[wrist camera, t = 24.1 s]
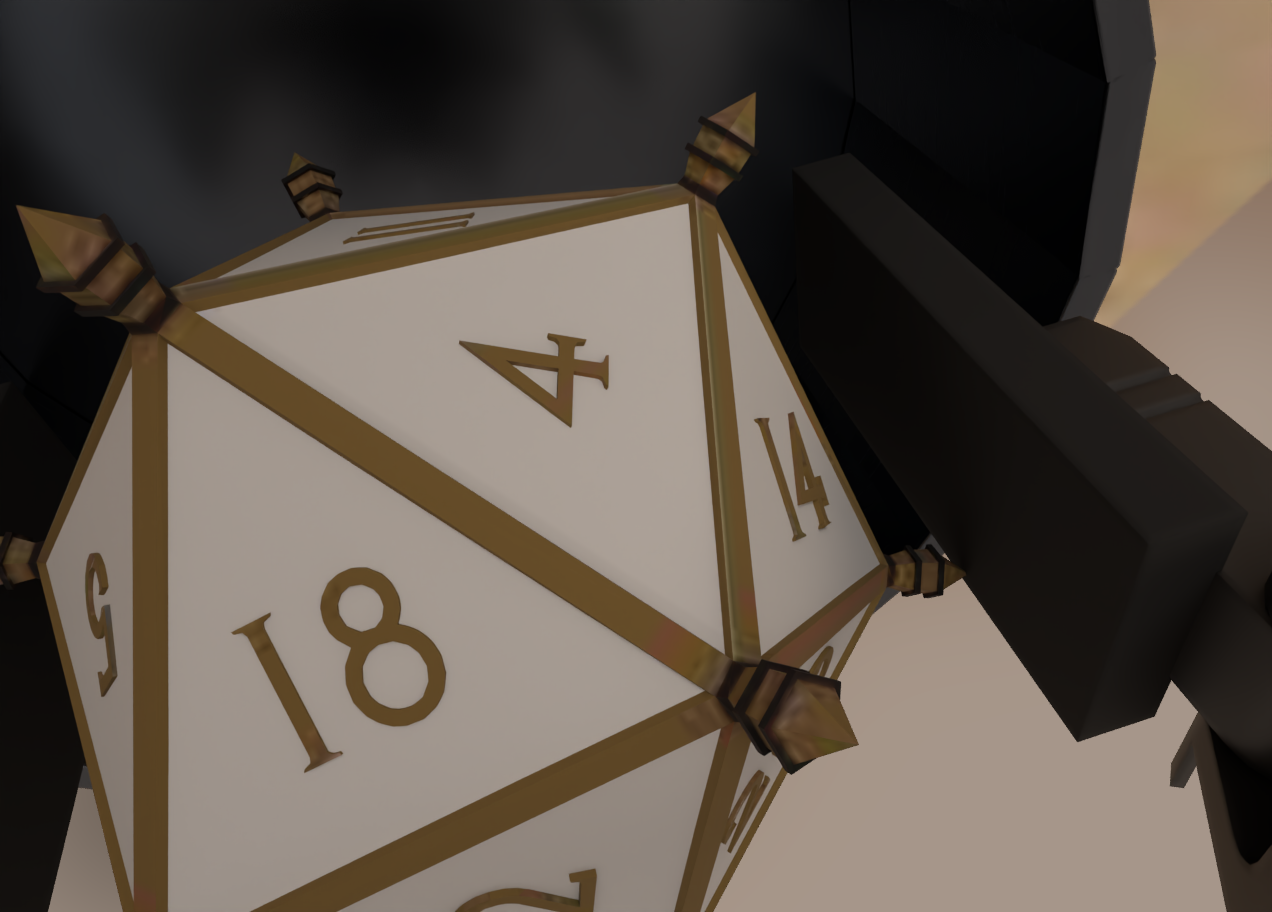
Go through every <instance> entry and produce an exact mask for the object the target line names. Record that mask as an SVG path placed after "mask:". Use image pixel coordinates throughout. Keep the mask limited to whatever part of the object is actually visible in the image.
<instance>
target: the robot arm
mask: <svg viewBox="0 0 1272 912" xmlns="http://www.w3.org/2000/svg"><path fill="white" fill-rule="evenodd" d="M792 179H793V203H794V227H795V250H796V274H797V298H798V322H799V346H800V347H801V349H802V350H803V351H804V353H805V354H806V356H807V357H808V358H809V360H810V361H811V363H812V364H813V366H814V367H815V368H816V370H817V371H818V373H819V374H820V376H821V377H822V378H823V380H824V381H825V383H826V384H827V386H828V387H829V388H830V390H831V391H832V393H833V394H834V396H835V397H836V398H837V400H838V401H839V403H840V404H841V406H842V407H843V408H844V410H845V411H846V413H847V414H848V416H849V417H850V418H851V420H852V421H853V423H854V424H855V426H856V427H857V428H858V430H859V431H860V433H861V434H862V436H863V437H864V438H865V440H866V441H867V443H868V444H869V446H870V447H871V448H872V450H873V451H874V453H875V454H876V456H877V457H878V458H879V460H880V461H881V463H882V464H883V466H884V467H885V468H886V470H887V471H888V473H889V474H890V476H891V477H892V478H893V480H894V481H895V483H896V484H897V486H898V487H899V488H900V490H901V491H902V493H903V494H904V495H905V497H906V498H907V500H908V501H909V503H910V504H911V505H912V507H913V508H914V510H915V511H916V513H917V514H918V515H919V517H920V518H921V520H922V521H923V523H924V524H925V525H926V527H927V528H928V530H929V531H930V533H931V534H932V535H933V537H934V538H935V540H936V541H937V543H938V544H939V545H940V547H941V548H942V550H943V551H944V553H945V554H946V555H947V557H948V558H949V560H950V561H951V562H952V563H954V564H955V565H957V566H958V567H960V568H961V569H963V570H964V571H965V572H966V576H964V577H963V580H964V581H965V582H966V584H967V585H968V587H969V588H970V590H971V591H972V593H973V594H974V595H975V597H976V598H977V600H978V601H979V602H980V604H981V605H982V607H983V608H984V610H985V611H986V613H987V614H988V615H989V616H990V618H991V620H992V621H993V623H994V624H995V625H996V627H997V628H998V629H999V631H1000V632H1001V634H1002V635H1003V637H1004V638H1005V639H1006V641H1007V642H1008V644H1009V645H1010V646H1011V648H1012V650H1013V651H1014V652H1015V654H1016V655H1017V657H1018V658H1019V659H1020V661H1021V662H1022V664H1023V665H1024V667H1025V668H1026V670H1027V671H1028V672H1029V674H1030V675H1031V676H1032V678H1033V680H1034V681H1035V682H1036V684H1037V685H1038V687H1039V688H1040V689H1041V691H1042V692H1043V694H1044V695H1045V697H1046V698H1047V700H1048V701H1049V702H1050V704H1051V705H1052V707H1053V708H1054V710H1055V711H1056V712H1057V714H1058V715H1059V717H1060V718H1061V719H1062V721H1063V722H1064V724H1065V725H1066V727H1067V728H1068V730H1069V731H1070V732H1071V734H1072V735H1073V737H1074V738H1075V740H1076V741H1077V742H1079V741H1082V740H1085V739H1088V738H1091V737H1094V736H1097V735H1100V734H1103V733H1106V732H1109V731H1112V730H1115V729H1118V728H1121V727H1125V726H1128V725H1130V724H1134V723H1137V722H1140V721H1143V720H1146V719H1148V718H1151V717H1154V716H1155V714H1156V712H1157V710H1158V708H1159V706H1160V703H1161V701H1162V699H1163V697H1164V694H1165V693H1166V690H1167V688H1168V686H1169V684H1170V682H1171V680H1172V681H1173V682H1174V684H1175V685H1176V686H1177V687H1178V688H1179V689H1180V691H1181V692H1182V693H1183V694H1184V696H1185V697H1186V698H1187V699H1188V700H1189V701H1190V703H1191V704H1192V705H1193V706H1194V707H1195V709H1196V710H1197V711H1198V713H1197V715H1196V717H1195V719H1194V721H1193V723H1192V725H1191V727H1190V729H1189V730H1188V732H1187V734H1186V737H1185V738H1184V740H1183V742H1182V744H1181V746H1180V748H1179V750H1178V752H1177V753H1176V755H1175V757H1174V759H1173V761H1172V763H1171V777H1170V778H1171V779H1170V786H1173V787H1180V788H1184V787H1185V785H1186V783H1187V781H1188V780H1189V778H1190V776H1191V774H1192V772H1193V771H1194V769H1195V767H1196V766H1197V771H1198V776H1199V780H1200V785H1201V790H1202V795H1203V799H1204V804H1205V809H1206V814H1207V819H1208V824H1209V829H1210V833H1211V838H1212V842H1213V848H1214V853H1215V857H1216V862H1217V867H1218V871H1219V877H1220V881H1221V886H1222V891H1223V896H1224V901H1225V905H1226V910H1227V912H1272V451H1271V450H1270V449H1268V448H1267V447H1266V446H1265V445H1263V444H1262V443H1261V442H1260V441H1259V440H1257V439H1256V438H1254V436H1252V435H1251V434H1250V433H1249V432H1247V431H1246V430H1245V429H1244V428H1243V427H1241V426H1240V425H1239V424H1238V423H1236V422H1235V421H1234V420H1233V419H1231V418H1230V417H1229V416H1228V415H1227V414H1225V413H1224V412H1223V411H1222V410H1220V409H1219V408H1218V407H1217V406H1216V405H1214V404H1213V403H1212V402H1211V401H1209V400H1208V401H1203V400H1202V399H1201V394H1200V392H1198V391H1197V390H1196V389H1194V388H1193V387H1192V386H1191V385H1190V384H1188V383H1187V382H1186V381H1184V379H1182V378H1181V377H1180V376H1178V375H1177V374H1175V375H1171V374H1170V372H1169V367H1168V366H1166V365H1165V364H1164V363H1163V362H1161V361H1160V360H1159V359H1157V358H1156V357H1155V356H1154V355H1153V354H1152V353H1150V352H1149V351H1148V350H1147V349H1145V348H1144V347H1143V346H1141V344H1139V343H1138V342H1137V341H1136V340H1134V339H1133V338H1132V337H1130V336H1128V335H1125V334H1123V333H1121V332H1118V331H1116V330H1113V329H1111V328H1109V327H1106V326H1104V325H1101V324H1099V323H1097V322H1094V321H1092V320H1089V319H1087V318H1085V317H1082V316H1077V317H1074V318H1070V319H1067V320H1064V321H1060V322H1057V323H1053V324H1050V325H1047V326H1043V327H1042V326H1041V325H1040V324H1039V323H1038V322H1037V321H1036V320H1035V319H1034V318H1032V317H1031V316H1030V315H1029V314H1028V313H1027V312H1026V311H1025V310H1024V309H1022V308H1021V307H1020V306H1019V305H1018V304H1017V303H1016V302H1015V301H1014V300H1012V299H1011V298H1010V297H1009V296H1008V295H1007V294H1006V293H1005V292H1004V291H1003V290H1001V289H1000V288H999V287H998V286H997V285H996V284H995V283H994V282H993V281H991V280H990V279H989V278H988V277H987V276H986V275H985V274H984V273H983V272H981V271H980V270H979V269H978V268H977V267H976V266H975V265H974V264H973V263H971V262H970V261H969V260H968V259H967V258H966V257H965V256H964V255H963V254H961V253H960V252H959V251H958V250H957V249H956V248H955V247H954V246H953V245H952V244H950V243H949V242H948V241H947V240H946V239H945V238H944V237H943V236H942V235H940V234H939V233H938V232H937V231H936V230H935V229H934V228H933V227H932V226H930V225H929V224H928V223H927V222H926V221H925V220H924V219H923V218H922V217H920V216H919V215H918V214H917V213H916V212H915V211H914V210H913V209H912V208H910V207H909V206H908V205H907V204H906V203H905V202H904V201H903V200H902V199H901V198H899V197H898V196H897V195H896V194H895V193H894V192H893V191H892V190H891V189H889V188H888V187H887V186H886V185H885V184H884V183H883V182H882V181H881V180H879V179H878V178H877V177H876V176H875V175H874V174H873V173H872V172H871V171H869V170H868V169H867V168H866V167H865V166H864V165H863V164H862V163H861V162H860V161H858V160H857V159H856V158H855V157H854V156H853V155H852V154H851V153H846V154H842V155H839V156H835V157H831V158H828V159H824V160H820V161H817V162H813V163H809V164H806V165H802V166H798V167H795V168H792ZM76 464H77V460H76V459H75V458H74V456H73V455H72V454H71V453H70V451H69V450H68V449H67V448H66V447H65V445H64V444H63V443H62V442H61V441H60V439H59V438H58V437H57V436H56V434H55V433H54V432H53V431H52V430H51V428H50V427H49V426H48V425H47V424H46V422H45V421H44V420H43V419H42V417H41V416H40V415H39V414H38V413H37V411H36V410H35V409H34V408H33V407H32V405H31V404H30V403H29V402H28V400H27V399H26V398H25V397H24V396H23V394H22V393H21V392H20V391H19V390H18V388H17V387H16V386H15V385H14V383H13V382H12V381H10V382H7V383H3V384H0V534H1V535H5V533H6V532H13V533H17V534H20V535H24V536H28V537H32V538H33V542H34V543H38V542H41V541H45V540H46V538H47V535H48V533H49V530H50V528H51V525H52V523H53V520H54V518H55V515H56V513H57V510H58V508H59V505H60V503H61V501H62V498H63V496H64V493H65V491H66V488H67V486H68V483H69V481H70V478H71V476H72V473H73V471H74V469H75V466H76ZM84 762H85V756H84V752H83V748H82V744H81V740H80V736H79V732H78V727H77V723H76V719H75V715H74V711H73V707H72V703H71V699H70V695H69V691H68V687H67V683H66V679H65V675H64V671H63V667H62V663H61V659H60V655H59V651H58V647H57V643H56V639H55V635H54V631H53V627H52V622H51V618H50V614H49V610H48V606H47V602H46V598H45V594H44V590H43V586H42V582H41V579H37V578H34V579H30V580H27V581H23V582H21V583H20V584H19V585H18V586H17V587H15V588H14V589H11V590H7V589H6V588H5V586H4V585H0V912H48V909H49V905H50V901H51V897H52V893H53V888H54V884H55V880H56V876H57V872H58V868H59V864H60V860H61V855H62V852H63V848H64V843H65V839H66V835H67V831H68V827H69V822H70V819H71V815H72V811H73V807H74V802H75V798H76V794H77V790H78V786H79V782H80V778H81V774H82V770H83V766H84Z"/></svg>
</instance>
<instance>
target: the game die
mask: <svg viewBox="0 0 1272 912" xmlns="http://www.w3.org/2000/svg"><path fill="white" fill-rule="evenodd" d="M755 101H756V92H755V93H753V94H751V95H749V96H748V97H746V98H744V99H742V100H740V101H738V102H737V103H735V104H733V105H731V106H729V107H727V108H726V109H724V110H722V111H720V112H718V113H716V114H715V115H713V116H711V117H709V118H705V117H703V116H700V118H699V120H698V122H699V123H700V124H702V125H703V126H702V128H701V130H700V132H699V134H698V136H697V138H696V140H695V142H694V144H693V145H692V144H690V143H687V145H686V147H685V149H686V150H687V151H689V152H690V153H689V158H688V162H687V167H686V171H685V175H684V176H683V177H682V179H681V180H680V181H679V182H678V183H676V184H665V185H653V186H641V187H629V188H617V189H606V190H594V191H582V192H570V193H558V194H546V195H535V196H523V197H511V198H499V199H487V200H476V201H464V202H452V203H440V204H428V205H416V206H405V207H393V208H381V209H369V210H357V211H346V212H340V210H339V200H340V198H341V196H342V194H343V193H342V190H341V189H338V188H335V185H334V183H333V179H334V178H335V176H336V174H335V172H334V171H332V170H329V169H326V168H323V167H320V166H317V165H315V164H314V163H312V162H310V161H309V160H307V159H305V158H303V157H302V156H300V155H298V154H297V153H295V152H294V155H293V158H292V162H291V165H290V168H289V172H288V175H287V176H286V177H285V178H283V179H281V181H282V183H283V185H284V187H285V188H286V190H287V192H288V194H289V196H290V198H291V200H292V202H293V204H294V206H295V208H296V209H297V211H298V213H299V215H300V217H301V218H307V219H308V220H309V223H307V224H305V225H303V226H301V227H299V228H297V229H294V230H292V231H290V232H288V233H286V234H284V235H282V236H280V237H277V238H275V239H273V240H271V241H269V242H267V243H265V244H263V245H260V246H258V247H256V248H254V249H252V250H250V251H248V252H246V253H243V254H241V255H239V256H237V257H235V258H233V259H231V260H229V261H226V262H224V263H222V264H220V265H218V266H216V267H214V268H212V269H209V270H207V271H205V272H203V273H201V274H199V275H197V276H195V277H192V278H190V279H188V280H186V281H184V282H182V283H180V284H178V285H175V286H173V287H171V288H168V287H167V286H165V285H163V284H161V283H159V282H158V281H157V280H156V278H155V277H154V275H155V274H156V271H155V269H154V267H153V265H152V263H151V262H150V260H149V258H148V256H147V254H146V252H145V251H144V249H143V248H142V247H141V246H140V245H139V244H138V243H137V242H135V243H133V244H131V245H130V246H129V245H128V244H127V243H126V242H124V241H123V239H122V237H121V235H120V234H119V232H118V230H117V228H116V226H115V224H114V222H113V220H112V219H111V218H110V217H109V216H108V215H107V214H106V213H103V214H102V215H100V216H99V217H97V218H95V219H92V218H86V217H81V216H75V215H69V214H64V213H58V212H52V211H47V210H41V209H35V208H30V207H24V206H19V205H16V207H17V210H18V212H19V215H20V218H21V221H22V223H23V226H24V229H25V232H26V234H27V237H28V240H29V243H30V245H31V248H32V251H33V253H34V256H35V259H36V262H37V264H38V267H39V270H40V273H41V277H40V279H39V282H38V284H37V286H36V288H37V289H39V290H41V291H42V292H44V293H59V292H60V293H62V294H63V295H65V296H66V297H68V298H70V299H71V300H73V301H74V302H76V303H77V304H76V307H75V309H74V312H76V313H78V314H79V315H81V316H82V317H93V316H104V317H107V318H110V319H113V320H115V321H118V322H121V323H122V324H123V325H124V326H125V327H126V329H127V330H128V331H129V332H130V333H129V336H128V338H127V340H126V343H125V345H124V348H123V350H122V353H121V355H120V358H119V360H118V363H117V365H116V368H115V370H114V372H113V375H112V377H111V380H110V382H109V385H108V387H107V390H106V392H105V395H104V397H103V400H102V402H101V405H100V407H99V409H98V412H97V414H96V417H95V419H94V422H93V424H92V427H91V429H90V432H89V434H88V437H87V439H86V441H85V444H84V446H83V449H82V451H81V454H80V456H79V459H78V461H77V464H76V466H75V469H74V471H73V473H72V476H71V478H70V481H69V483H68V486H67V488H66V491H65V493H64V496H63V498H62V501H61V503H60V505H59V508H58V510H57V513H56V515H55V518H54V520H53V523H52V525H51V528H50V530H49V533H48V535H47V538H46V540H45V541H41V542H38V543H34V542H33V538H32V537H28V536H24V535H20V534H17V533H13V532H6V533H5V535H1V534H0V585H4V586H5V588H6V589H7V590H11V589H14V588H15V587H17V586H18V585H19V584H20V583H21V582H23V581H27V580H30V579H34V578H37V579H41V582H42V586H43V590H44V594H45V598H46V602H47V606H48V610H49V614H50V618H51V622H52V627H53V631H54V635H55V639H56V643H57V647H58V651H59V655H60V659H61V663H62V667H63V671H64V675H65V679H66V683H67V687H68V691H69V695H70V699H71V703H72V707H73V711H74V715H75V719H76V723H77V727H78V732H79V736H80V740H81V744H82V748H83V752H84V756H85V760H86V764H87V768H88V772H89V776H90V780H91V784H92V788H93V792H94V796H95V800H96V804H97V808H98V812H99V816H100V820H101V824H102V828H103V832H104V837H105V841H106V845H107V848H108V853H109V857H110V860H111V865H112V869H113V873H114V877H115V881H116V885H117V889H118V893H119V897H120V901H121V905H122V909H123V912H713V911H714V909H715V907H716V906H717V904H718V902H719V900H720V898H721V896H722V894H723V892H724V890H725V889H726V887H727V885H728V883H729V881H730V879H731V877H732V876H733V874H734V872H735V870H736V868H737V866H738V864H739V862H740V861H741V859H742V857H743V855H744V853H745V851H746V849H747V848H748V845H749V844H750V842H751V840H752V838H753V836H754V834H755V833H756V831H757V828H758V827H759V825H760V823H761V821H762V819H763V818H764V816H765V814H766V812H767V810H768V808H769V806H770V804H771V803H772V801H773V799H774V797H775V795H776V793H777V791H778V789H779V788H780V786H781V784H782V782H783V780H784V778H785V776H786V774H787V773H790V774H791V775H792V774H793V773H795V772H796V771H798V770H799V769H801V768H802V767H804V766H805V765H807V764H808V763H810V762H811V761H813V760H814V759H816V758H818V757H821V756H824V755H827V754H831V753H834V752H837V751H840V750H844V749H847V748H850V747H853V746H857V745H859V744H858V742H857V739H856V737H855V735H854V732H853V730H852V728H851V726H850V723H849V721H848V718H847V716H846V714H845V711H844V709H843V707H842V704H841V702H840V690H841V682H840V681H838V680H837V679H838V677H839V675H840V673H841V672H842V670H843V668H844V666H845V664H846V662H847V660H848V658H849V657H850V655H851V653H852V651H853V649H854V647H855V645H856V643H857V642H858V639H859V638H860V636H861V634H862V632H863V630H864V628H865V627H866V625H867V623H868V621H869V619H870V617H871V615H872V613H873V612H874V610H875V608H876V606H877V604H878V602H879V600H880V599H881V597H882V595H883V593H884V591H885V589H886V588H887V587H889V588H892V589H895V590H898V591H901V593H902V596H906V597H908V596H912V595H917V594H921V593H923V597H924V598H931V597H936V596H941V595H943V590H944V589H945V588H947V587H948V586H950V585H952V584H953V583H955V582H956V581H958V580H960V579H961V578H963V577H964V576H966V572H965V571H964V570H963V569H961V568H960V567H958V566H957V565H955V564H954V563H952V562H951V561H949V560H947V559H946V558H944V557H943V556H941V555H940V554H939V553H938V551H937V550H936V549H935V548H934V547H933V545H932V544H927V545H926V547H925V549H921V550H914V549H913V548H912V547H911V546H910V545H905V546H904V549H903V551H901V552H898V553H895V554H892V555H886V554H882V552H881V549H880V547H879V545H878V543H877V541H876V539H875V537H874V535H873V533H872V531H871V529H870V527H869V525H868V523H867V520H866V518H865V516H864V514H863V512H862V510H861V508H860V506H859V504H858V502H857V500H856V498H855V496H854V494H853V491H852V489H851V487H850V485H849V483H848V481H847V479H846V477H845V475H844V473H843V471H842V469H841V467H840V465H839V462H838V460H837V458H836V456H835V454H834V452H833V450H832V448H831V446H830V444H829V442H828V440H827V438H826V436H825V434H824V431H823V429H822V427H821V425H820V423H819V421H818V419H817V417H816V415H815V413H814V411H813V409H812V407H811V405H810V402H809V400H808V398H807V396H806V394H805V392H804V390H803V388H802V386H801V384H800V382H799V380H798V378H797V376H796V373H795V371H794V369H793V367H792V365H791V363H790V361H789V359H788V357H787V355H786V353H785V351H784V349H783V347H782V344H781V342H780V340H779V338H778V336H777V334H776V332H775V330H774V328H773V326H772V324H771V322H770V320H769V318H768V315H767V313H766V311H765V309H764V307H763V305H762V303H761V301H760V299H759V297H758V295H757V293H756V291H755V289H754V286H753V284H752V282H751V280H750V278H749V276H748V274H747V272H746V270H745V268H744V266H743V264H742V262H741V260H740V257H739V255H738V253H737V251H736V249H735V247H734V245H733V243H732V241H731V239H730V237H729V235H728V233H727V231H726V228H725V226H724V224H723V222H722V220H721V218H720V216H719V214H718V212H717V210H716V208H715V204H716V200H717V196H718V195H719V194H720V193H721V192H722V191H723V190H724V189H725V188H726V187H727V186H728V185H729V184H730V183H731V182H732V181H733V180H736V181H738V182H740V180H741V179H742V177H743V175H741V174H739V172H740V170H741V169H742V167H743V166H744V164H745V162H746V161H747V159H748V158H749V156H750V155H751V156H755V157H756V156H757V155H758V153H759V150H757V149H756V148H754V144H755Z"/></svg>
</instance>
